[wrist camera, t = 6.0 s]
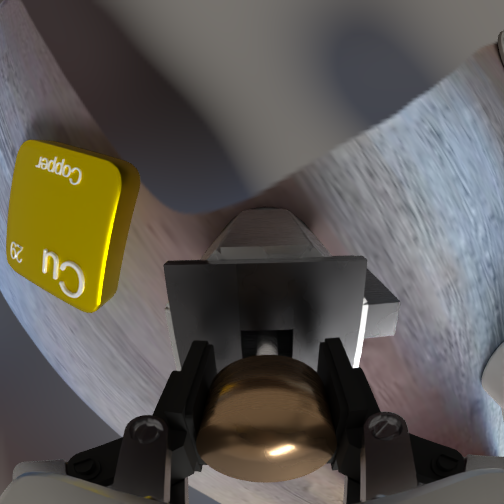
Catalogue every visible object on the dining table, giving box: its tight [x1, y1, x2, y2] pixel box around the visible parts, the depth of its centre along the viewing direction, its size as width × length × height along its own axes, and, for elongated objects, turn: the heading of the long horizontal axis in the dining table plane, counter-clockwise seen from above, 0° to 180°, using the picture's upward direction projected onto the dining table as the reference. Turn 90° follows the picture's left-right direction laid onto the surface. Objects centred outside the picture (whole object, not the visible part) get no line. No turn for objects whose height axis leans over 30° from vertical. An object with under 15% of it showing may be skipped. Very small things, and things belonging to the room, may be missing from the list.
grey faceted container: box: [164, 207, 401, 373], centre depth 19 cm, size 9×12×15 cm
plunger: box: [196, 330, 337, 482], centre depth 13 cm, size 7×7×14 cm
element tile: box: [6, 140, 140, 313], centre depth 24 cm, size 15×15×5 cm
